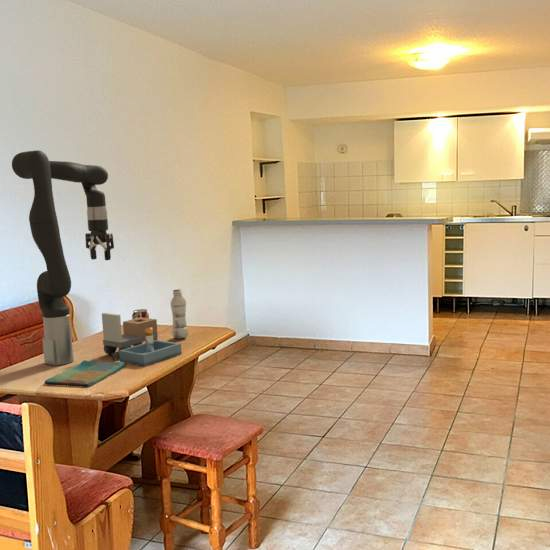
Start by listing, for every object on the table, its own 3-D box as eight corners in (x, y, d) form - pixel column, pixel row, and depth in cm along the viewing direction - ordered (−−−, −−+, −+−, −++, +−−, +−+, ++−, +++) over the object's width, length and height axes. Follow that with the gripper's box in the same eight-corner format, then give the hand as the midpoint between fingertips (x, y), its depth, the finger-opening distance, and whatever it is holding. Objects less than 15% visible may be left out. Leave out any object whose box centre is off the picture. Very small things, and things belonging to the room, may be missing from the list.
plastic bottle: (169, 340, 258) (166, 291, 255) (176, 336, 264) (173, 288, 262) (184, 340, 256) (181, 291, 253) (191, 336, 262) (188, 288, 260)
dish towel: (127, 368, 222) (126, 361, 221) (90, 389, 199) (89, 381, 199) (83, 366, 226) (83, 359, 226) (43, 386, 204) (42, 378, 204)
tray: (144, 366, 221) (143, 355, 220) (119, 361, 228) (118, 350, 228) (181, 354, 235) (180, 343, 234) (157, 350, 243) (156, 339, 242)
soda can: (132, 338, 264) (130, 310, 262) (148, 336, 267) (146, 308, 265) (135, 341, 258) (133, 312, 256) (152, 339, 261) (150, 310, 259)
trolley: (117, 360, 230) (113, 316, 228) (98, 356, 236) (95, 314, 234) (160, 347, 247) (157, 306, 244) (141, 344, 253) (138, 304, 251)
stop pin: (150, 356, 230) (148, 329, 228) (145, 355, 231) (143, 328, 230) (156, 354, 232) (154, 327, 231) (151, 353, 234) (149, 327, 232)
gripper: (78, 219, 250) (81, 260, 252) (101, 219, 241) (104, 261, 244) (93, 217, 256) (97, 258, 258) (117, 217, 247) (120, 259, 249)
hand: (100, 259), depth 251 cm, fingers open, 8 cm apart
